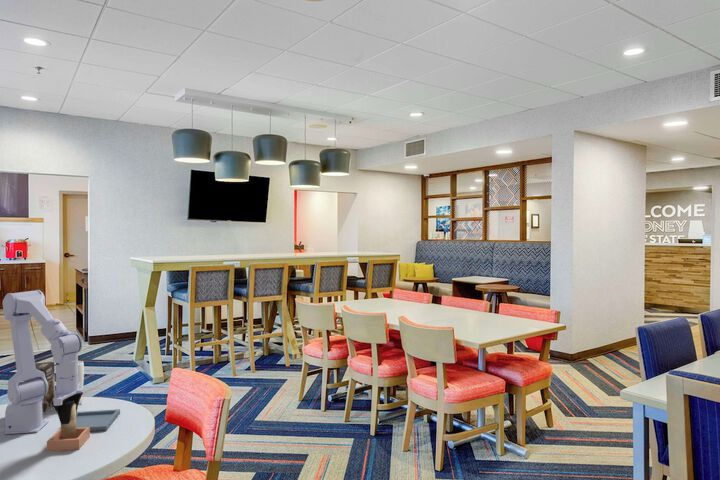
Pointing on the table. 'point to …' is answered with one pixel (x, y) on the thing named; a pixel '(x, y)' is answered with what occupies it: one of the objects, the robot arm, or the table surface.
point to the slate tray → (96, 419)
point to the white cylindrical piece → (81, 377)
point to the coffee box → (50, 377)
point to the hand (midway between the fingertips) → (68, 420)
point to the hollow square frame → (68, 440)
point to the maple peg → (70, 424)
